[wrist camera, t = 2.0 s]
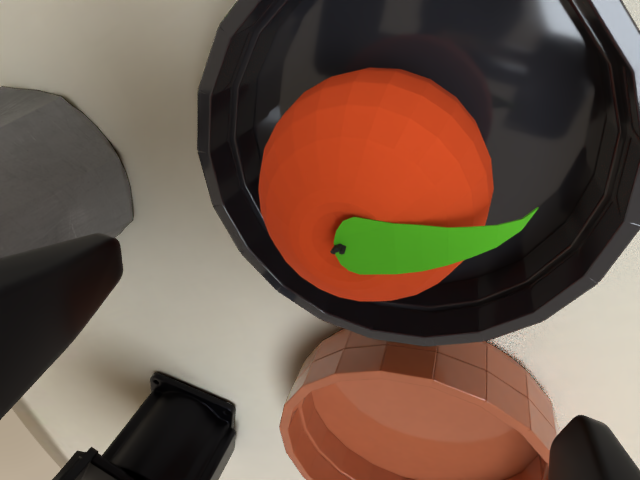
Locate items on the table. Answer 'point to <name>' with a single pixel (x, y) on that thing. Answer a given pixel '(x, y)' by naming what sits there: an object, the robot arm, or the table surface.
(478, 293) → the charcoal bowl
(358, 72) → the clementine
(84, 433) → the table surface
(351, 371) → the terracotta bowl
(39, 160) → the coffeepot
